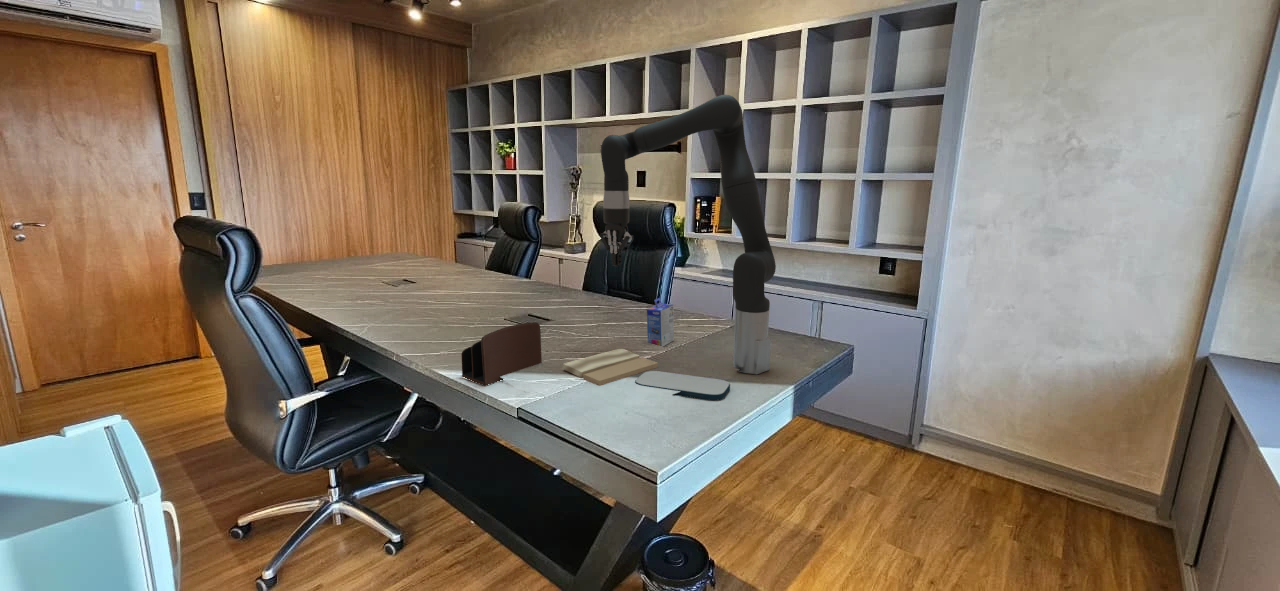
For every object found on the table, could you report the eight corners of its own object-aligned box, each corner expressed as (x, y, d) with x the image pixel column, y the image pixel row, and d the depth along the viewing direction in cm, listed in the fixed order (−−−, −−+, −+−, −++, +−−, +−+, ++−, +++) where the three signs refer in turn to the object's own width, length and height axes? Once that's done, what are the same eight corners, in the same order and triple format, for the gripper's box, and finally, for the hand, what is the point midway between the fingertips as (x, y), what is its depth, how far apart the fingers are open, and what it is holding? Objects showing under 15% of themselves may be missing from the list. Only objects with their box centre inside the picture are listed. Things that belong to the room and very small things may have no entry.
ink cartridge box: (659, 338, 193) (659, 295, 190) (674, 340, 190) (675, 297, 187) (646, 345, 184) (646, 301, 181) (661, 348, 182) (662, 303, 179)
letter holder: (542, 367, 163) (541, 319, 160) (485, 387, 148) (482, 334, 145) (519, 360, 169) (517, 313, 166) (461, 378, 154) (458, 327, 151)
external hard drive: (732, 388, 149) (732, 380, 148) (721, 404, 138) (722, 396, 138) (647, 376, 157) (647, 369, 157) (630, 390, 147) (630, 383, 146)
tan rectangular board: (660, 370, 160) (660, 362, 160) (596, 391, 145) (596, 381, 144) (621, 357, 172) (621, 349, 172) (558, 375, 157) (557, 366, 156)
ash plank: (639, 360, 165) (639, 355, 164) (581, 377, 151) (581, 372, 150) (620, 353, 170) (620, 348, 170) (563, 369, 156) (563, 363, 156)
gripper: (641, 207, 164) (641, 267, 168) (611, 205, 174) (611, 262, 177) (622, 208, 159) (622, 270, 163) (591, 206, 169) (592, 264, 172)
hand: (616, 266), depth 170 cm, fingers closed
